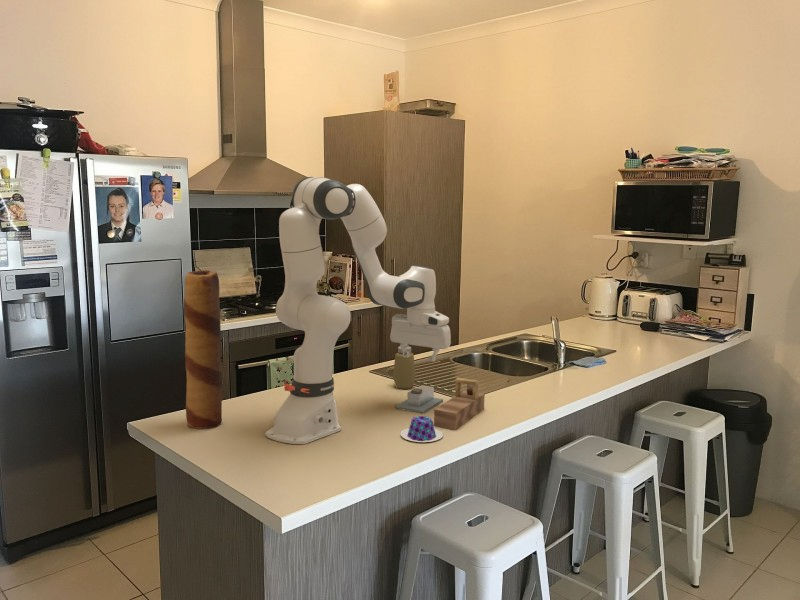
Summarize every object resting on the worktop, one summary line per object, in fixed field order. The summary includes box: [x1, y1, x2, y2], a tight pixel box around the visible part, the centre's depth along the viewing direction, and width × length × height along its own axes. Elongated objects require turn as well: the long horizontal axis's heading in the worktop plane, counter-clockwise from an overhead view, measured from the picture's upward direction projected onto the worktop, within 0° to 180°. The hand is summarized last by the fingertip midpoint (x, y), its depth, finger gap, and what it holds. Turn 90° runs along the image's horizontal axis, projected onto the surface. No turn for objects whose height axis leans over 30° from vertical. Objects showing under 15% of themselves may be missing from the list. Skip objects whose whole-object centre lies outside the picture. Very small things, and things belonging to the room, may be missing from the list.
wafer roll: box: [183, 269, 223, 429], centre depth 189 cm, size 10×11×45 cm
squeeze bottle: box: [392, 344, 417, 390], centre depth 230 cm, size 8×8×18 cm
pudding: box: [400, 415, 444, 443], centre depth 184 cm, size 12×12×5 cm
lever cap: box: [407, 384, 435, 407], centre depth 212 cm, size 10×4×5 cm, turn 151°
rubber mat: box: [395, 397, 444, 414], centre depth 212 cm, size 14×10×1 cm
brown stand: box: [433, 376, 486, 431], centre depth 200 cm, size 22×7×11 cm, turn 151°
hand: (419, 359), depth 209 cm, fingers open, 8 cm apart
